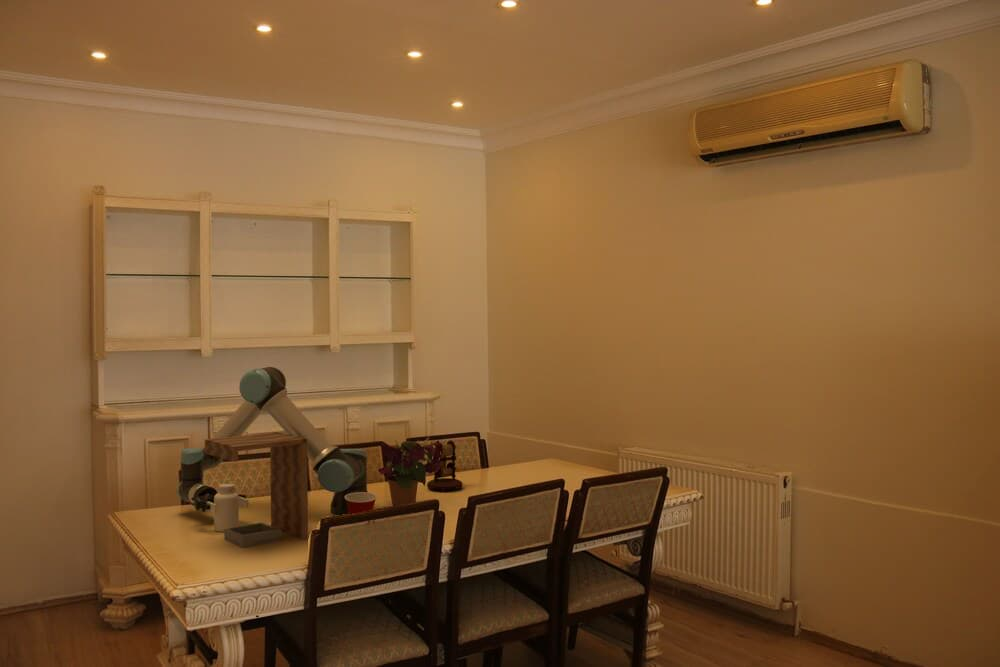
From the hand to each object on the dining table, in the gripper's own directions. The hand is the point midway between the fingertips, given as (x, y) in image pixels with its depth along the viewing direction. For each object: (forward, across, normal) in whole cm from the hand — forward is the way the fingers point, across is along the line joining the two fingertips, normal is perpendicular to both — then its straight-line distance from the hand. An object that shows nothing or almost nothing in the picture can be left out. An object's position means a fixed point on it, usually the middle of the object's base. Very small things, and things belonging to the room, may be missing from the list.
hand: (231, 506), depth 285 cm
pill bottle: (-4, 0, -9) cm, 10 cm away
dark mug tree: (-5, -96, -9) cm, 96 cm away
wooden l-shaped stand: (+15, -2, -9) cm, 17 cm away
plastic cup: (+29, -32, -9) cm, 44 cm away
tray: (+15, 0, -8) cm, 17 cm away
